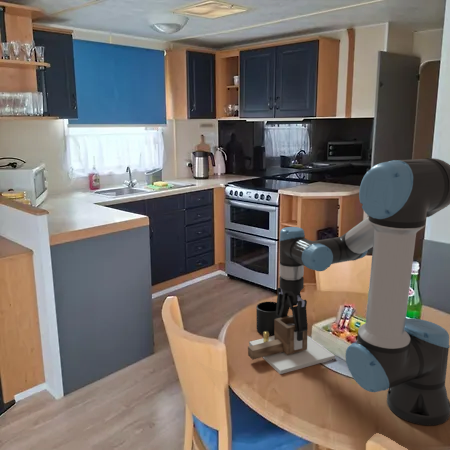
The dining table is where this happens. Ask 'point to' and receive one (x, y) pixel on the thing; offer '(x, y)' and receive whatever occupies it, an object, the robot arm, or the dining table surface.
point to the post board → (297, 356)
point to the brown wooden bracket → (279, 340)
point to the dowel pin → (265, 336)
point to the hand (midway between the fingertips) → (290, 342)
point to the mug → (266, 317)
